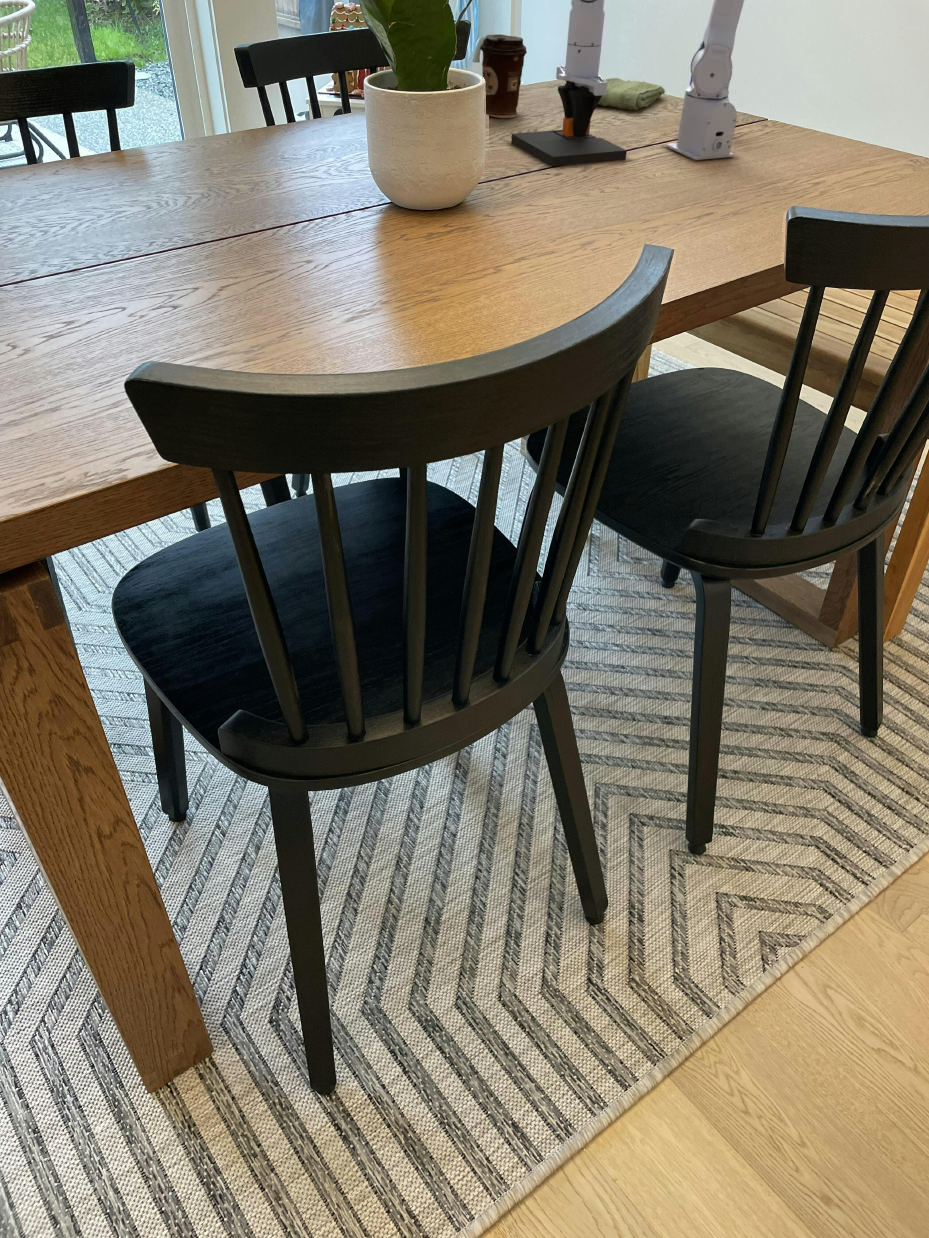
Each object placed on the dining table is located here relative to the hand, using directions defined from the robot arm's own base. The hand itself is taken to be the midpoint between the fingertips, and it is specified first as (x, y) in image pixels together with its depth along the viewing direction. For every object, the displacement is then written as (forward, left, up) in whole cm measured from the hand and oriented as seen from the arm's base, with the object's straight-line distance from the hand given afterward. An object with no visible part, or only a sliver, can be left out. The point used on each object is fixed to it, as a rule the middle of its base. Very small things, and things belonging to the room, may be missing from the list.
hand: (575, 133), depth 162 cm
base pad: (-4, +4, -2) cm, 6 cm away
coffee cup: (+24, +4, -2) cm, 24 cm away
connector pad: (0, 0, -2) cm, 2 cm away
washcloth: (+28, -26, -2) cm, 38 cm away
